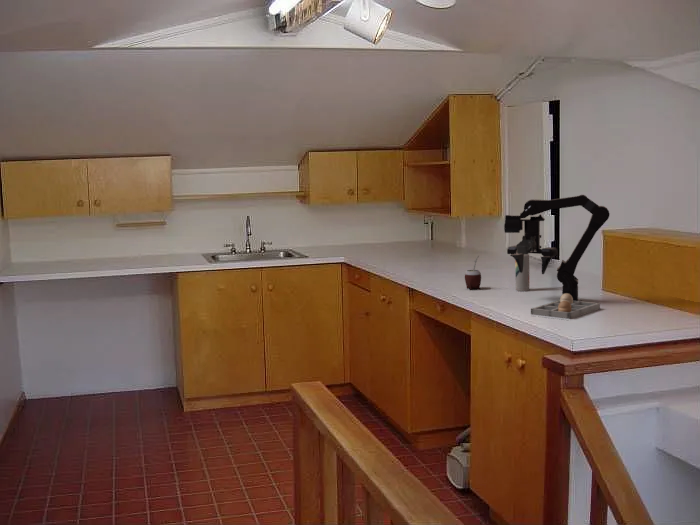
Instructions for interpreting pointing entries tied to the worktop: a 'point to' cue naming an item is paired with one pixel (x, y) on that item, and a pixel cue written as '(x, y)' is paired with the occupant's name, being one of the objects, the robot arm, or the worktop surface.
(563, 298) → the beige rounded cylinder
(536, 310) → the grey egg tray
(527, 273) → the lotion bottle
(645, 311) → the worktop surface
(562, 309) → the brown egg
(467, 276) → the mate gourd
